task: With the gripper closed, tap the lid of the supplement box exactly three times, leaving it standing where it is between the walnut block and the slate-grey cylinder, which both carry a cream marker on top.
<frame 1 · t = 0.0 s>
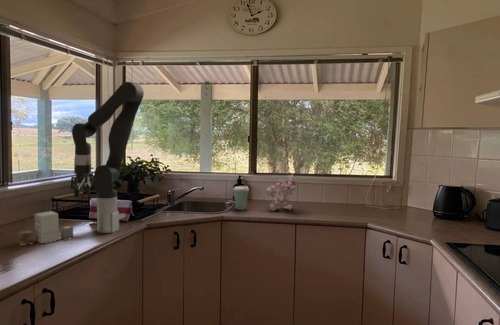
hand: (82, 195, 167), 17 cm above the worktop, tool pointing down, fingers open, 8 cm apart
flower: (280, 210, 223), on the worktop
disposable coffee cup: (240, 209, 223), on the worktop
slate marked cylinder: (67, 238, 154), on the worktop
supplement box: (47, 241, 150), on the worktop
walnut marked block: (26, 243, 146), on the worktop
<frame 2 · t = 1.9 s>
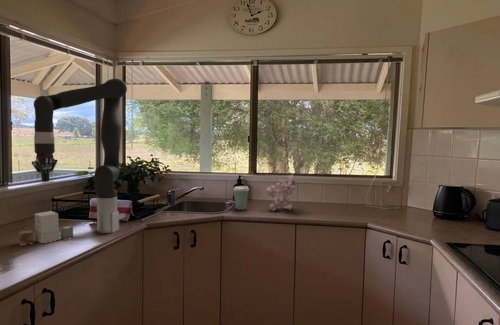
hand: (45, 181, 147), 27 cm above the worktop, tool pointing down, fingers closed
nothing on the worktop moved.
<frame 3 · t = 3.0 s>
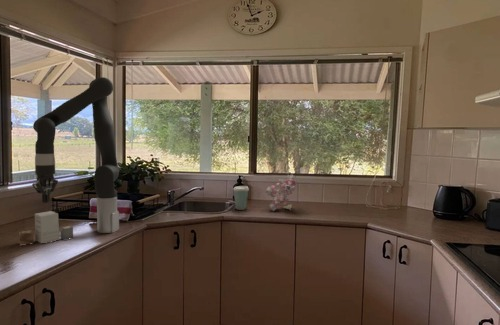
hand: (46, 202, 148), 18 cm above the worktop, tool pointing down, fingers closed
nothing on the worktop moved.
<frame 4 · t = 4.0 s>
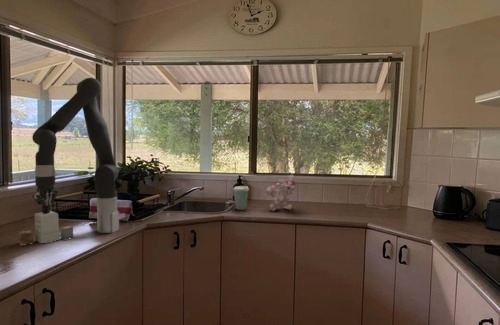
hand: (46, 213, 149), 13 cm above the worktop, tool pointing down, fingers closed
supplement box: (47, 241, 150), on the worktop, touching gripper
everything else where it was.
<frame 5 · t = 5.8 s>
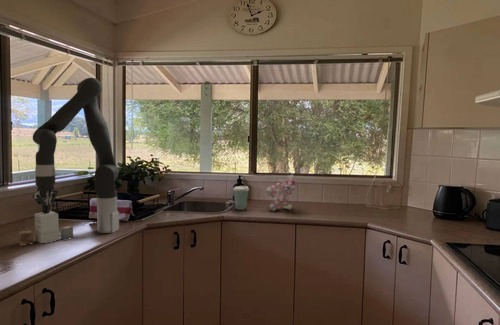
hand: (46, 213, 149), 13 cm above the worktop, tool pointing down, fingers closed
supplement box: (47, 241, 150), on the worktop
everything else where it was.
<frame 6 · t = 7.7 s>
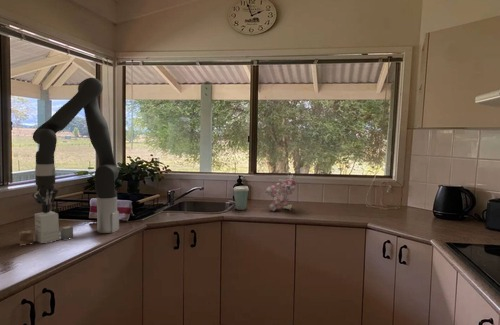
hand: (46, 212, 149), 13 cm above the worktop, tool pointing down, fingers closed
nothing on the worktop moved.
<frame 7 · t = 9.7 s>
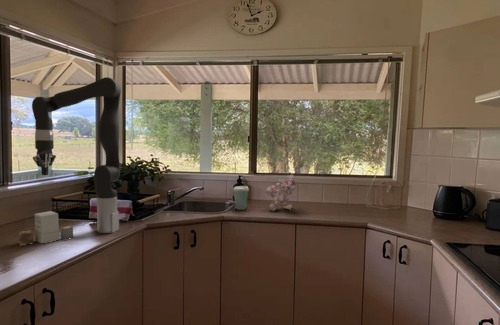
hand: (45, 175, 161), 28 cm above the worktop, tool pointing down, fingers closed
nothing on the worktop moved.
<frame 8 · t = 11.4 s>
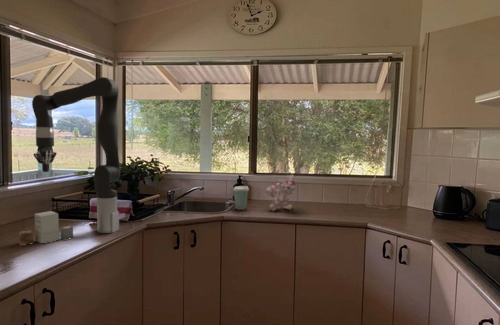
hand: (45, 171, 165), 29 cm above the worktop, tool pointing down, fingers closed
nothing on the worktop moved.
at the end: supplement box moved 0.2 cm from its start; supplement box tilted 0°; walnut marked block moved 0.1 cm from its start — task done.
